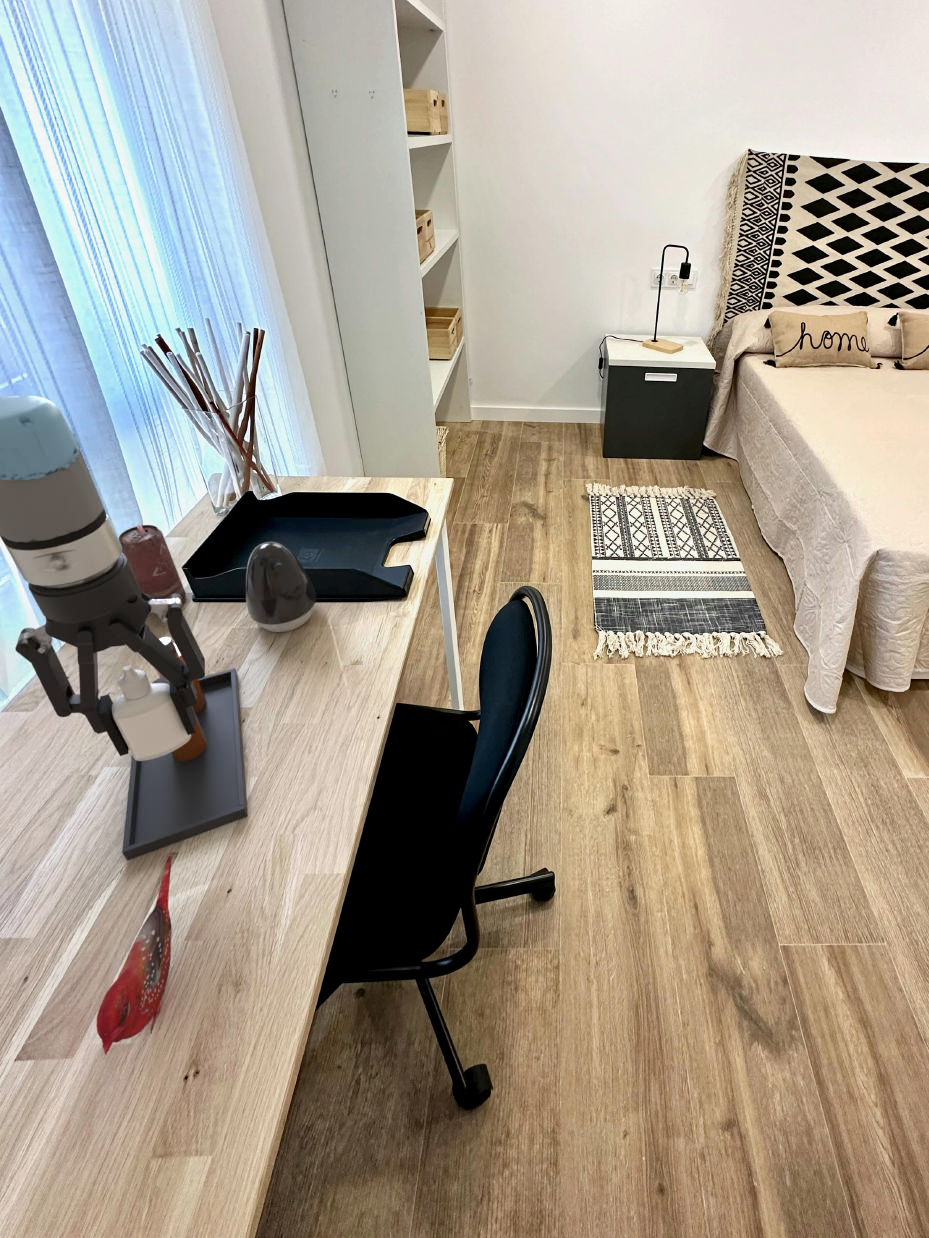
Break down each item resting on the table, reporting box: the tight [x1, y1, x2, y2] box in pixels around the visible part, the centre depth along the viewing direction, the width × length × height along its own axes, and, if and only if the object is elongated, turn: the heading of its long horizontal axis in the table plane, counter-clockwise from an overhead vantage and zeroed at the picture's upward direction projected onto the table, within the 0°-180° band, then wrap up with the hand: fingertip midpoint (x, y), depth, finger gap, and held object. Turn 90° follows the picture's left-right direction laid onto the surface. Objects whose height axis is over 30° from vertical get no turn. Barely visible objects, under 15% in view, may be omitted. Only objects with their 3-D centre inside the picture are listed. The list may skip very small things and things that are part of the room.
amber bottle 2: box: [152, 677, 207, 761], centre depth 79 cm, size 4×4×12 cm
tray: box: [121, 667, 249, 861], centre depth 82 cm, size 25×12×2 cm, turn 27°
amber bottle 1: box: [154, 636, 207, 714], centre depth 85 cm, size 4×4×12 cm
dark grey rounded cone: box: [244, 541, 317, 633], centre depth 101 cm, size 10×10×15 cm
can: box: [118, 524, 187, 603], centre depth 104 cm, size 6×6×14 cm
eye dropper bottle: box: [112, 665, 191, 761], centre depth 68 cm, size 4×6×12 cm
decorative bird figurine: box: [96, 855, 173, 1056], centre depth 58 cm, size 3×18×10 cm, turn 15°
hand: (159, 735), depth 70 cm, fingers closed on eye dropper bottle, 6 cm apart
